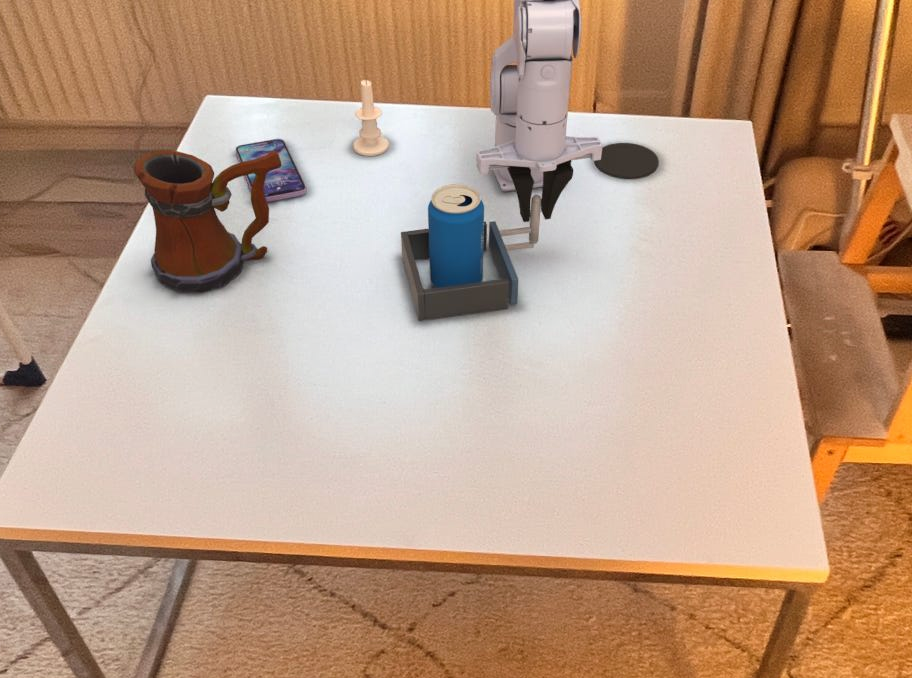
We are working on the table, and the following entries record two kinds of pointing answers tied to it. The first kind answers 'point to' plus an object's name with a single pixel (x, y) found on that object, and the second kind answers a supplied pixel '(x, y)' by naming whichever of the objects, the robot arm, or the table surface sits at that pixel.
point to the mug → (200, 218)
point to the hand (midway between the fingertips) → (535, 216)
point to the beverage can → (456, 236)
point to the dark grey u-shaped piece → (449, 297)
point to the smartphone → (278, 180)
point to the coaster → (627, 161)
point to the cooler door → (513, 246)
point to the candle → (369, 125)
